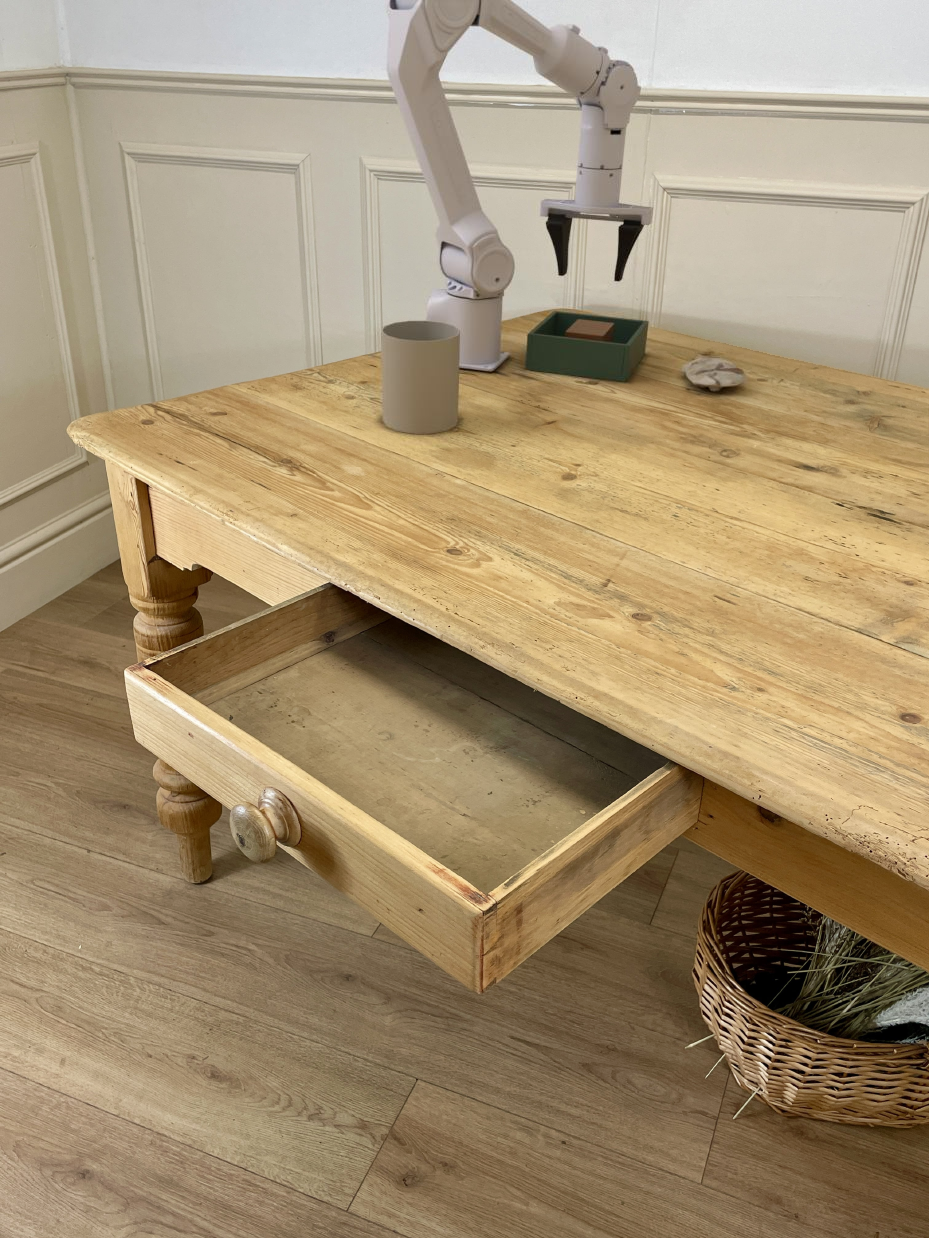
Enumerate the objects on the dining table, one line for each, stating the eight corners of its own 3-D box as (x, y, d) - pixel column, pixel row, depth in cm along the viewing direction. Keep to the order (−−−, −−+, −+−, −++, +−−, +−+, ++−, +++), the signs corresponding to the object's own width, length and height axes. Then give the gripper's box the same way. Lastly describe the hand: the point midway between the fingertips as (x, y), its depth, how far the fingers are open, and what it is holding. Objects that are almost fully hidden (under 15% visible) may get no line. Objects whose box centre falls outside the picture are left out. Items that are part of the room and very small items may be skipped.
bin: (525, 369, 129) (527, 333, 126) (551, 343, 139) (553, 310, 137) (625, 382, 125) (629, 345, 123) (644, 355, 136) (648, 321, 133)
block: (562, 362, 130) (565, 331, 128) (575, 348, 135) (577, 319, 133) (600, 367, 128) (603, 336, 126) (611, 353, 134) (614, 323, 132)
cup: (430, 439, 106) (430, 346, 101) (368, 423, 110) (365, 332, 105) (471, 417, 112) (474, 328, 107) (411, 403, 116) (411, 316, 111)
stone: (753, 396, 121) (757, 375, 120) (694, 396, 121) (698, 375, 119) (728, 373, 130) (731, 352, 128) (673, 372, 129) (676, 352, 128)
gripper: (661, 167, 128) (649, 276, 135) (552, 160, 132) (546, 266, 139) (652, 173, 122) (639, 287, 129) (538, 165, 126) (532, 276, 133)
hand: (590, 277), depth 134 cm, fingers open, 7 cm apart
